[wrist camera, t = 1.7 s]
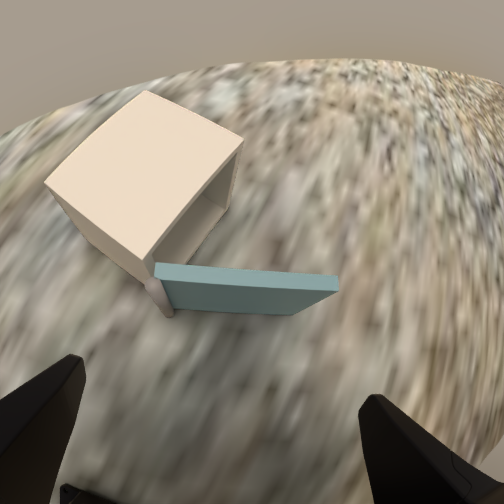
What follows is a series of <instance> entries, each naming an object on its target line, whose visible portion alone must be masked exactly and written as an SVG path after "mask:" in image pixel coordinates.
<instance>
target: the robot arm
mask: <svg viewBox="0 0 504 504" xmlns="http://www.w3.org/2000/svg"><path fill="white" fill-rule="evenodd" d="M85 383H86V373H85V367H84V361H83V358H82V357H80V356H76V355H73V354H69V355H67V356H65V357H64V358H62V359H61V360H59V361H58V362H56V363H55V364H53V365H52V366H50V367H49V368H47V369H46V370H44V371H43V372H41V373H40V374H38V375H37V376H35V377H34V378H32V379H31V380H29V381H28V382H26V383H25V384H23V385H22V386H20V387H19V388H17V389H16V390H14V391H13V392H11V393H10V394H8V395H7V396H5V397H4V398H2V399H1V400H0V504H49V502H50V499H51V495H52V492H53V488H54V485H55V481H56V478H57V475H58V472H59V469H60V465H61V462H62V459H63V456H64V453H65V451H66V448H67V445H68V442H69V439H70V436H71V434H72V431H73V428H74V425H75V422H76V418H77V414H78V410H79V406H80V402H81V398H82V394H83V390H84V387H85ZM358 418H359V425H360V433H361V441H362V448H363V454H364V459H365V463H366V468H367V472H368V476H369V481H370V486H371V490H372V495H373V500H374V504H504V483H501V482H498V481H496V480H494V479H493V478H491V477H489V476H488V475H486V474H484V473H483V472H481V471H480V470H478V469H476V468H475V467H473V466H472V465H470V464H469V463H467V462H466V461H464V460H463V459H462V458H460V457H459V456H458V455H456V454H455V453H454V452H453V451H450V449H449V448H448V447H446V446H445V445H444V444H442V443H441V442H440V441H439V440H437V439H436V438H435V437H434V436H432V435H431V434H430V433H429V432H427V431H426V430H425V429H424V428H422V427H421V426H420V425H419V424H417V423H416V422H415V421H414V420H412V419H411V418H410V417H409V416H407V415H406V414H405V413H404V412H403V411H401V410H400V409H399V408H398V407H396V406H395V405H394V404H393V403H392V402H390V401H389V400H388V399H387V398H385V397H384V396H383V395H381V394H372V395H370V396H369V397H368V398H367V399H366V401H365V402H364V404H363V405H362V406H361V408H360V409H359V412H358ZM65 488H66V489H67V490H68V491H66V490H65ZM60 504H114V503H112V502H111V501H108V500H105V499H103V498H100V497H97V496H95V495H92V494H90V493H87V492H85V491H81V490H78V489H76V488H74V487H72V486H69V485H67V484H63V485H62V486H61V487H60Z"/></svg>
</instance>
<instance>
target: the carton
mask: <svg viewBox="0 0 504 504" xmlns="http://www.w3.org/2000/svg"><path fill="white" fill-rule="evenodd" d="M244 140H245V139H243V138H242V137H240V136H238V135H236V134H234V133H232V132H231V131H229V130H227V129H225V128H223V127H221V126H219V125H217V124H215V123H213V122H211V121H209V120H208V119H206V118H204V117H202V116H200V115H198V114H196V113H194V112H191V111H189V110H187V109H185V108H183V107H181V106H179V105H177V104H175V103H173V102H171V101H168V100H166V99H164V98H162V97H160V96H157V95H155V94H153V93H151V92H148V91H146V90H144V91H143V92H142V93H140V94H139V95H138V96H136V97H135V98H134V99H133V100H131V101H130V102H129V103H127V104H126V105H125V106H124V107H122V108H121V109H120V110H119V111H118V112H116V113H115V114H114V115H113V116H112V117H110V118H109V119H108V120H107V121H106V122H105V123H103V124H102V125H101V126H100V127H99V128H98V129H97V130H95V131H94V132H93V133H92V134H91V135H90V136H89V137H88V138H87V139H86V140H85V141H83V142H82V143H81V144H80V145H79V146H78V147H77V148H76V149H75V150H74V151H73V152H72V153H71V154H70V155H69V156H68V157H67V158H66V159H65V160H64V161H63V162H62V163H61V164H60V165H59V166H58V167H57V169H56V170H55V171H54V172H53V173H52V174H51V175H50V176H49V177H48V178H47V179H46V180H45V182H44V183H45V185H46V186H47V188H48V189H49V190H50V192H51V193H52V195H53V196H54V197H55V199H56V200H57V202H58V203H59V204H60V206H61V207H62V208H63V210H64V211H65V213H66V214H67V215H68V217H69V218H70V219H71V220H72V222H73V223H74V224H75V226H76V227H77V228H78V230H79V231H80V232H81V233H82V235H83V236H84V237H85V238H86V240H88V241H89V242H90V243H91V244H92V245H94V246H95V247H96V248H97V249H99V250H100V251H101V252H102V253H104V254H105V255H106V256H107V257H109V258H110V259H111V260H112V261H114V262H115V263H116V264H118V265H119V266H120V267H121V268H123V269H124V270H125V271H127V272H128V273H129V274H131V275H132V276H133V277H135V278H136V279H137V280H139V281H140V282H141V283H143V284H144V285H145V281H146V280H147V279H148V278H149V277H154V272H155V264H156V262H159V263H170V264H182V265H186V264H187V263H188V261H189V260H190V259H191V257H192V256H193V254H194V253H195V252H196V250H197V249H198V248H199V246H200V245H201V244H202V242H203V241H204V240H205V238H206V237H207V236H208V234H209V233H210V232H211V230H212V229H213V228H214V226H215V225H216V224H217V222H218V221H219V220H220V219H221V217H222V216H223V215H224V213H225V212H226V211H227V209H228V208H229V204H230V200H231V195H232V191H233V186H234V182H235V178H236V173H237V169H238V165H239V161H240V156H241V152H242V148H243V144H244Z"/></svg>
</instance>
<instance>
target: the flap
mask: <svg viewBox="0 0 504 504" xmlns="http://www.w3.org/2000/svg"><path fill="white" fill-rule="evenodd" d="M145 289H146V291H147V292H148V293H149V295H150V296H151V298H152V299H153V300H154V302H155V303H156V305H157V306H158V307H159V309H160V310H161V311H162V313H163V314H164V315H165V316H166V317H167V318H171V317H173V315H174V309H173V308H176V309H188V310H201V311H215V312H231V313H249V314H271V315H294V314H296V313H298V312H300V311H302V310H303V309H305V308H307V307H309V306H311V305H313V304H315V303H317V302H319V301H321V300H323V299H325V298H327V297H328V296H330V295H332V294H334V293H336V292H338V291H339V286H338V276H334V275H318V274H303V273H288V272H273V271H259V270H245V269H232V268H219V267H207V266H194V265H182V264H170V263H159V262H156V264H155V272H154V277H149V278H148V279H147V280H146V281H145Z"/></svg>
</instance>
